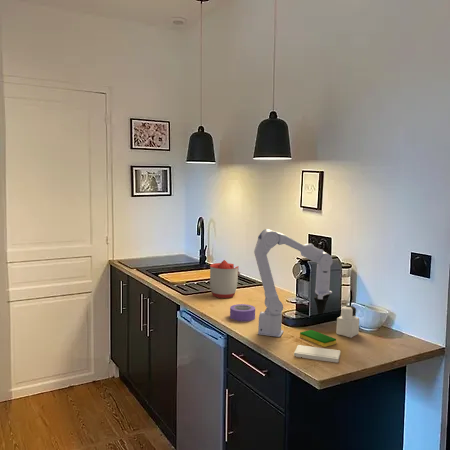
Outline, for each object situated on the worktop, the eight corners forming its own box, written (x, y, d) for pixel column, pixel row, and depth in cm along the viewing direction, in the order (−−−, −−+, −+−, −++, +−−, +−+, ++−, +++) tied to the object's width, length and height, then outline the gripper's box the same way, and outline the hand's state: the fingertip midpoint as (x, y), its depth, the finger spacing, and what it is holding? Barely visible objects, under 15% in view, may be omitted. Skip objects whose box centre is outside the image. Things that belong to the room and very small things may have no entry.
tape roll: (238, 323, 216) (238, 312, 216) (225, 316, 226) (225, 305, 226) (259, 319, 222) (260, 309, 222) (246, 313, 232) (246, 303, 232)
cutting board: (294, 356, 177) (294, 352, 177) (297, 348, 186) (298, 344, 186) (338, 362, 173) (338, 358, 172) (340, 354, 181) (340, 350, 181)
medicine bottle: (343, 330, 210) (344, 303, 209) (358, 333, 206) (360, 306, 204) (335, 334, 205) (337, 306, 203) (351, 337, 200) (353, 309, 199)
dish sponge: (324, 348, 188) (324, 342, 188) (299, 337, 200) (299, 332, 199) (336, 344, 193) (336, 338, 192) (311, 334, 204) (311, 329, 203)
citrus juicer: (245, 298, 260) (246, 261, 258) (216, 300, 253) (217, 263, 251) (232, 291, 274) (233, 256, 272) (204, 293, 267) (205, 258, 265)
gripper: (330, 285, 194) (329, 317, 195) (334, 278, 208) (332, 308, 209) (313, 283, 196) (311, 315, 198) (317, 276, 210) (316, 306, 211)
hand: (321, 311), depth 204 cm, fingers open, 5 cm apart
